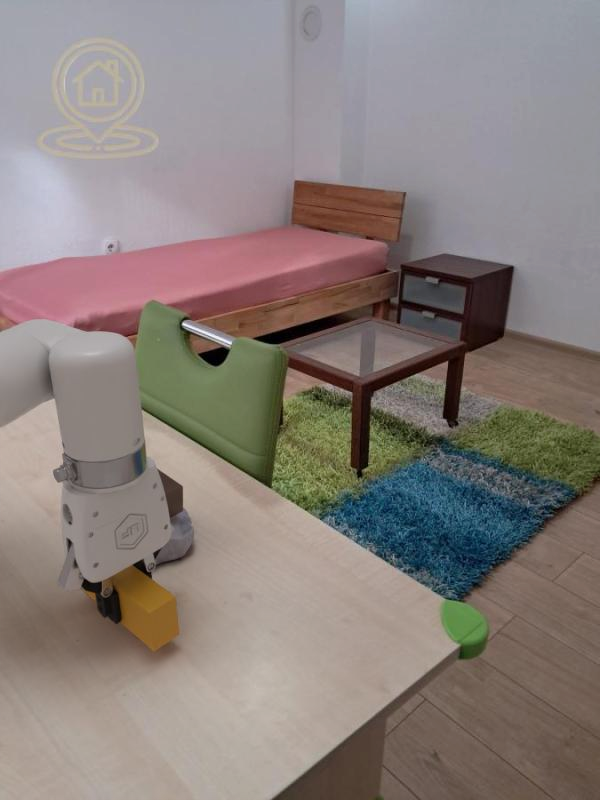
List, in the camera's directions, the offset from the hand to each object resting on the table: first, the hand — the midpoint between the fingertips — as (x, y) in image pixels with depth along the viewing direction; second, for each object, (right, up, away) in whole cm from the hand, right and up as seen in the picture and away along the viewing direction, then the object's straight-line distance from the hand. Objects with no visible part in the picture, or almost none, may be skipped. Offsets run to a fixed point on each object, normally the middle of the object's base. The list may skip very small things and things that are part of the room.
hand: (127, 605), depth 69 cm
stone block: (0, +4, +15) cm, 15 cm away
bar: (0, -1, 0) cm, 1 cm away
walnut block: (-1, +8, +13) cm, 15 cm away
